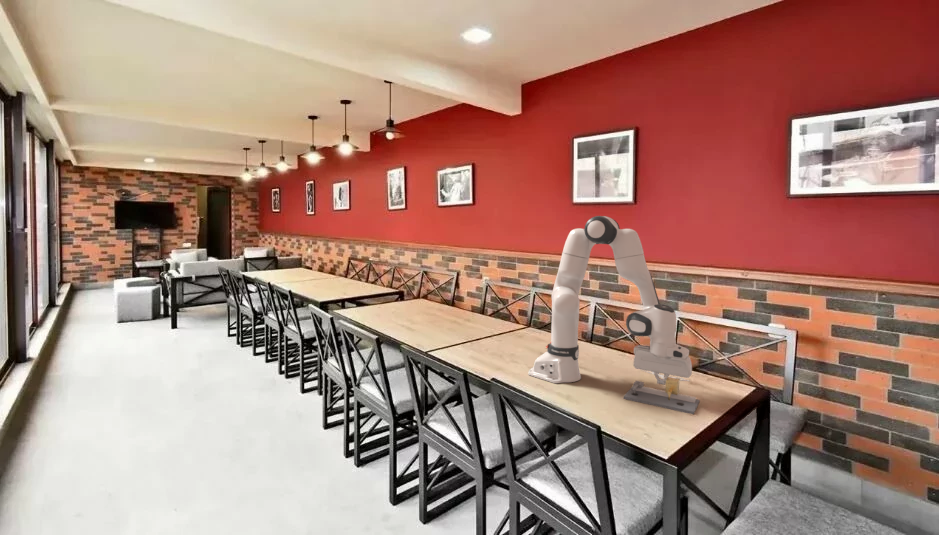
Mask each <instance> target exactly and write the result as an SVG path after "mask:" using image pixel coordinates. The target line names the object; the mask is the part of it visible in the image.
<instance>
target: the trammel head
mask: <svg viewBox="0 0 939 535" xmlns="http://www.w3.org/2000/svg"><path fill="white" fill-rule="evenodd" d="M670 377H671V376H669V377H668V378H667V379H666V384H665V391H666V393H667V394H668V400H670V395H671V394H675V395H677V394H680V381H679V380H681V379H679V378H677V379H676V377H675V378H670Z"/></svg>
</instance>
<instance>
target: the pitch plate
mask: <svg viewBox="0 0 939 535" xmlns="http://www.w3.org/2000/svg"><path fill="white" fill-rule="evenodd" d="M623 400H627V401H632V402H636V403H637V402H638V403H642V404H646V405H649V406H654V407H659V408H663V409H667V410H673V411H676V412H681V413H686V414H690V415H694V414H695V412H696V410H697V408H698V406H699V404H700V401H701V400H700V399H698V398H696V396H693V395H692V396H691V395H688V394H687V395H686V394H681V393H678V394H677V395H675V394H671V395H670V400H668V394H667V393H666V390H663V389H659V388H652V387H649V386H645V382H644V381H640V380H635V381H634V382H633V384H632V386H631V388H629V390H627V391H626V393H625V394H623Z"/></svg>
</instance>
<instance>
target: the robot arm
mask: <svg viewBox="0 0 939 535" xmlns="http://www.w3.org/2000/svg"><path fill="white" fill-rule="evenodd" d="M600 244H601V245H608V246H610V248H611V250H612V252H613V259H614V263H615V267H616V271H617V273H618V275H619V276H620V277H621V278H622V279H624V280H627V281H629V282H631V283H633V284H634V285H635V286H636V287H637V290H638V292H639V295H640V300H641V303H642V309H641V310H636V311H634V312H631V313H630V314H628V315H627V317H626V320H625V326H626V328H627V331H628V332H629V333H630V334H631V335H633V336H636V337H649V345H641V344H638V345H635V346H634V347H633V354H634V359H633V363H632V365H633V367H634V368H635V369H636V370H640V371H642V370H643V371H647V372H651V371H652V372H651V373H653V372H654V374H653V376H654V377H655V379H656V384H657V385H663V386H666V379H667V378H668V377H670V376H673V377H674V376H675V377H679V378H684V379H685V378H686V379H688V378H690V377H691V376H692V374H693V366H692V360H691V359H692V358H690V356H689V354H690V350H689V349H688V348H687V347H684V346H682V345H680V344H677V342H676V341H677V340H676V333H677V315H676V311H675V310H674V308H673V307H671V306H669V305H665V304H661V303H660V300H659V296H658V292H657V290H656V287H655V283H654V280H653V277H652V274H651V272H650V270H649V268H648V265H647V262H646V259H645V254H644V253H645V252H644V248H643V245H642V241H641V238H640V237H639V234H638V232H637V231H636V230H634V229H632V228H622V229H621V227H620V225H619V223H618V222H617V221H616V220H615V219H614V218H611V217H609V216H605V215H603V216H602V215H595V216H592V217H591V218H589V219H588V220H587V222H586V223H585V225H584V228H574V229H571V230H570V232H569V233H568V234H567V237H566V240H565V242H564V245H563V250H562V253H561V257H560V261H559V265H558V270H557V274H556V277H555V280H554V284H553V288H552V292H551V328H550V330H551V332H550V333H551V334H550V335H551V336H550V337H551V338H550V339H551V340H550V343H548V344H547V345H545V349H547V350H546V351H545V352H544V353H542V354H540V355H539V356H538V357H537V358H536V359H535V360H534V364H533V367H531V368H530V369H529V370H528V372H527V375H529V376H530V377H531V376H532V377H534V378H537V379H541V380H543V381H546V382H550V383H551V384H552V383H553V384H561V383H572V382H573V383H574V382H577V381H580V380H581V379H582V375H581V373H580V371H581V370H580V366H579V357H580V348H579V344H578V342H579V339H578V338H579V337H578V336H579V319H580V303H581V302H580V298H579V295H580V294H579V293H580V290H581V288H582V285H583V281H584V279H585V276H586V272H587V268H588V264H589V259H590V256H591V252H592V249H593V247H594V246H595V245H600ZM658 374H662V375H664V376H665V377H664V379H663V378H661V377H660V376H659V375H658Z"/></svg>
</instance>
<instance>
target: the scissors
mask: <svg viewBox="0 0 939 535" xmlns="http://www.w3.org/2000/svg"><path fill="white" fill-rule="evenodd" d="M641 371H642V372H645V373H648V374H652V375H654V372H652V371H646V370H641ZM658 375H659V377H660V378H661V379H664V378H665V376H664V374H661V373H659V374H658ZM669 377H670V378H676V379H680V380H679V382H684V381H685V382H690V380H688V379H685V378H684V377H679V376H675V377H674V376H669Z"/></svg>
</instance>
